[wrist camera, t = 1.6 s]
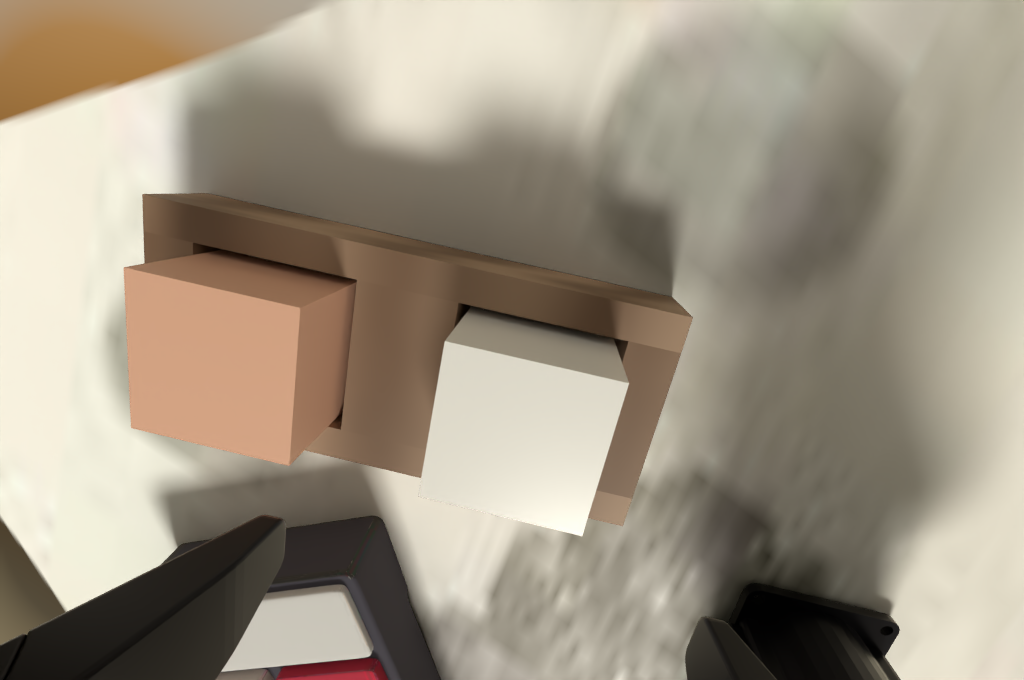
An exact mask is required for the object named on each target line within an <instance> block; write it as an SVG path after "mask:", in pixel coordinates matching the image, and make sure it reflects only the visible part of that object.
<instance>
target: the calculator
mask: <svg viewBox="0 0 1024 680" xmlns="http://www.w3.org/2000/svg"><path fill="white" fill-rule="evenodd" d="M211 540H212V539H211ZM208 541H210V540H204V541H198V542H191V543H185V544H181V545H180V546H179V547H178V548H177V549H176V550H175V551H174V552H173V553H172V554H171V555H170V556H169V557H168V558H167V559H166V560H165V561H164V562H163V563H162V564H164V563H166V562H168V561H170V560H172V559H174V558H176V557H178V556H180V555H182V554H184V553H186V552H188V551H190V550H192V549H194V548H196V547H198V546H200V545H202V544H204V543H206V542H208ZM162 564H161V565H162ZM216 680H440V677H439V675H438V672H437V670H436V667H435V665H434V662H433V660H432V657H431V655H430V653H429V650H428V648H427V645H426V643H425V640H424V638H423V635H422V633H421V630H420V628H419V625H418V623H417V621H416V618H415V616H414V613H413V611H412V608H411V606H410V603H409V600H408V592H407V585H406V582H405V579H404V576H403V574H402V571H401V568H400V565H399V563H398V560H397V557H396V554H395V552H394V549H393V546H392V543H391V541H390V538H389V535H388V532H387V530H386V527H385V524H384V522H383V521H382V519H380V518H379V517H376V516H368V517H360V518H354V519H347V520H340V521H333V522H326V523H320V524H313V525H306V526H299V527H293V528H286V535H285V551H284V558H283V562H282V564H281V567H280V569H279V571H278V573H277V574H276V576H275V578H274V580H273V582H272V584H271V585H270V587H269V589H268V591H267V593H266V595H265V596H264V598H263V600H262V602H261V604H260V606H259V607H258V609H257V611H256V613H255V615H254V617H253V618H252V620H251V622H250V624H249V626H248V628H247V630H246V631H245V633H244V635H243V637H242V639H241V640H240V642H239V644H238V646H237V647H236V649H235V651H234V653H233V654H232V656H231V657H230V659H229V660H228V662H227V664H226V665H225V667H224V668H223V670H222V671H221V673H220V674H219V676H218V677H217V679H216Z"/></svg>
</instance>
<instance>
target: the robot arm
mask: <svg viewBox="0 0 1024 680" xmlns="http://www.w3.org/2000/svg"><path fill="white" fill-rule="evenodd" d="M285 535H286V523H285V521H284V520H283V519H282V518H278V517H273V516H269V515H261V516H258V517H256V518H254V519H252V520H250V521H248V522H246V523H244V524H242V525H240V526H238V527H236V528H234V529H232V530H230V531H228V532H226V533H224V534H222V535H220V536H218V537H216V538H214V539H212V540H210V541H208V542H206V543H204V544H202V545H200V546H198V547H196V548H194V549H192V550H190V551H188V552H186V553H184V554H182V555H180V556H178V557H176V558H174V559H172V560H170V561H168V562H166V563H164V564H162V565H160V566H158V567H156V568H154V569H152V570H150V571H148V572H146V573H144V574H142V575H140V576H138V577H136V578H134V579H132V580H130V581H128V582H126V583H124V584H122V585H120V586H118V587H116V588H114V589H112V590H110V591H108V592H106V593H104V594H102V595H100V596H98V597H96V598H94V599H92V600H90V601H88V602H86V603H84V604H82V605H80V606H78V607H76V608H74V609H72V610H70V611H68V612H66V613H64V614H62V615H60V616H58V617H56V618H54V619H52V620H49V621H48V622H46V623H43V624H41V625H39V626H38V627H35V628H33V629H32V630H30V631H29V632H28V634H27V635H26V634H21V635H19V636H17V637H15V638H13V639H11V640H9V641H7V642H5V643H3V644H1V645H0V680H216V679H217V677H218V676H219V674H220V673H221V671H222V670H223V668H224V667H225V665H226V664H227V662H228V660H229V659H230V657H231V656H232V654H233V653H234V651H235V649H236V647H237V646H238V644H239V642H240V640H241V639H242V637H243V635H244V633H245V631H246V630H247V628H248V626H249V624H250V622H251V620H252V618H253V617H254V615H255V613H256V611H257V609H258V607H259V606H260V604H261V602H262V600H263V598H264V596H265V595H266V593H267V591H268V589H269V587H270V585H271V584H272V582H273V580H274V578H275V576H276V574H277V573H278V571H279V569H280V567H281V564H282V562H283V558H284V551H285ZM756 595H759V596H758V597H754V596H756ZM899 631H900V629H899V626H898V625H897V624H896V622H895V621H894V620H893V618H892V617H891V616H889V615H887V614H883V613H879V612H875V611H871V610H867V609H863V608H858V607H854V606H850V605H846V604H842V603H838V602H833V601H829V600H825V599H821V598H817V597H813V596H808V595H804V594H800V593H796V592H792V591H788V590H784V589H779V588H775V587H771V586H767V585H763V584H758V583H753V584H749V585H748V586H746V587H745V589H744V590H743V592H742V594H741V597H740V599H739V601H738V603H737V605H736V608H735V610H734V612H733V614H732V616H731V619H730V621H729V623H728V624H727V623H726V622H725V621H723V620H719V619H715V618H710V617H706V616H705V617H701V618H700V619H699V621H698V623H697V625H696V628H695V630H694V632H693V635H692V637H691V640H690V642H689V644H688V647H687V650H686V656H685V663H686V672H687V680H900V678H899V677H898V675H897V674H896V672H895V671H894V669H893V668H892V666H891V665H890V664H889V662H888V661H887V659H886V658H885V655H886V654H887V652H888V650H889V649H890V647H891V645H892V644H893V642H894V640H895V639H896V637H897V635H898V634H899Z"/></svg>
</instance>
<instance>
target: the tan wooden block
mask: <svg viewBox="0 0 1024 680" xmlns="http://www.w3.org/2000/svg"><path fill="white" fill-rule="evenodd" d="M124 283H125V305H126V326H127V348H128V369H129V391H130V413H131V428H134V429H138V430H142V431H146V432H151V433H155V434H159V435H163V436H167V437H171V438H176V439H180V440H184V441H188V442H192V443H196V444H200V445H205V446H209V447H213V448H217V449H221V450H225V451H230V452H234V453H238V454H242V455H246V456H250V457H255V458H259V459H263V460H267V461H271V462H275V463H280V464H284V465H288V466H289V465H290V464H291V463H292V462H293V461H294V460H295V459H296V458H297V457H298V456H299V455H300V454H301V453H302V452H303V451H304V450H305V449H306V448H307V447H308V446H309V445H310V444H311V443H312V442H313V441H314V440H315V439H316V438H317V437H318V436H319V435H320V434H321V433H322V432H323V431H324V430H325V429H326V428H327V427H328V426H329V425H330V424H331V423H332V422H333V421H334V420H335V419H336V418H337V417H338V416H339V415H340V414H341V413H342V412H343V406H344V397H345V387H346V378H347V369H348V359H349V350H350V341H351V331H352V322H353V312H354V303H355V294H356V284H357V280H352V279H348V278H344V277H339V276H335V275H330V274H326V273H322V272H317V271H313V270H308V269H304V268H300V267H295V266H291V265H286V264H282V263H277V262H273V261H269V260H264V259H260V258H255V257H251V256H247V255H242V254H238V253H233V252H229V251H225V250H218V251H212V252H207V253H201V254H196V255H190V256H184V257H179V258H173V259H168V260H162V261H157V262H151V263H146V264H140V265H134V266H129V267H124Z"/></svg>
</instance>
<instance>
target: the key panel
mask: <svg viewBox="0 0 1024 680" xmlns="http://www.w3.org/2000/svg"><path fill="white" fill-rule="evenodd" d="M142 196H143V227H144V258H145V264H146V263H151V262H157V261H162V260H168V259H173V258H179V257H184V256H190V255H196V254H201V253H207V252H212V251H218V250H225V251H229V252H233V253H238V254H242V255H247V256H248V255H250V256H255V257H259V258H263V259H268V260H272V261H277V262H281V263H285V264H290V265H294V266H299V267H303V268H308V269H312V270H316V271H321V272H325V273H330V274H334V275H338V276H343V277H347V278H352V279H356V280H357V284H356V294H355V303H354V312H353V322H352V331H351V341H350V350H349V359H348V369H347V378H346V387H345V397H344V406H343V412H342V413H341V414H340V415H339V416H338V417H337V418H336V419H335V420H334V421H333V422H332V423H331V424H330V425H329V426H328V427H327V428H326V429H325V430H324V431H323V432H322V433H321V434H320V435H319V436H318V437H317V438H316V439H315V440H314V441H313V442H312V443H311V444H310V445H309V446H308V447H307V448H306V449H305V450H306V451H310V452H314V453H319V454H323V455H327V456H331V457H335V458H339V459H344V460H348V461H352V462H356V463H360V464H365V465H369V466H373V467H377V468H381V469H386V470H390V471H394V472H398V473H402V474H406V475H411V476H415V477H419V478H421V476H422V470H423V465H424V459H425V453H426V447H427V441H428V436H429V430H430V424H431V418H432V412H433V406H434V401H435V395H436V389H437V383H438V377H439V371H440V366H441V360H442V354H443V348H444V342H445V340H446V339H447V337H448V336H449V335H450V334H451V332H452V331H453V330H454V328H455V327H456V326H457V324H458V323H459V322H460V321H461V319H462V318H463V317H464V315H465V314H466V313H467V311H468V310H469V309H470V306H475V307H480V308H484V309H488V310H493V311H497V312H502V313H506V314H510V315H515V316H519V317H524V318H528V319H532V320H537V321H541V322H546V323H550V324H555V325H559V326H563V327H568V328H572V329H577V330H581V331H585V332H590V333H594V334H599V335H603V336H607V337H612V338H613V339H614V341H615V344H616V347H617V350H618V353H619V355H620V358H621V361H622V364H623V367H624V370H625V373H626V376H627V379H628V382H629V385H628V389H627V392H626V395H625V398H624V402H623V405H622V408H621V411H620V415H619V418H618V421H617V424H616V428H615V431H614V434H613V437H612V441H611V444H610V447H609V450H608V454H607V457H606V460H605V463H604V467H603V470H602V473H601V476H600V480H599V483H598V486H597V489H596V493H595V496H594V499H593V502H592V506H591V509H590V512H589V515H588V518H591V519H595V520H599V521H603V522H607V523H612V524H616V525H620V526H623V524H624V521H625V518H626V515H627V512H628V509H629V506H630V503H631V500H632V497H633V494H634V491H635V488H636V485H637V482H638V479H639V476H640V473H641V471H642V468H643V465H644V462H645V459H646V456H647V453H648V450H649V447H650V444H651V441H652V438H653V435H654V432H655V429H656V426H657V423H658V420H659V417H660V414H661V411H662V408H663V405H664V402H665V399H666V396H667V393H668V390H669V387H670V384H671V381H672V378H673V375H674V373H675V370H676V367H677V364H678V361H679V358H680V355H681V352H682V349H683V346H684V343H685V340H686V337H687V334H688V331H689V328H690V325H691V322H692V319H693V317H692V316H691V315H690V314H689V313H688V312H687V311H686V310H685V309H684V308H683V307H682V306H681V305H680V304H679V303H678V302H677V301H676V300H675V299H674V298H673V297H669V296H665V295H660V294H656V293H651V292H647V291H642V290H638V289H633V288H629V287H624V286H620V285H615V284H611V283H607V282H602V281H598V280H593V279H589V278H584V277H580V276H575V275H571V274H566V273H562V272H557V271H553V270H548V269H544V268H539V267H535V266H530V265H526V264H521V263H517V262H512V261H508V260H503V259H499V258H495V257H490V256H486V255H481V254H477V253H472V252H468V251H463V250H459V249H454V248H450V247H445V246H441V245H436V244H432V243H427V242H423V241H418V240H414V239H409V238H405V237H400V236H396V235H391V234H387V233H383V232H378V231H374V230H369V229H365V228H360V227H356V226H351V225H347V224H342V223H338V222H333V221H329V220H324V219H320V218H315V217H311V216H306V215H302V214H297V213H293V212H288V211H284V210H279V209H275V208H271V207H266V206H262V205H257V204H253V203H248V202H244V201H239V200H235V199H230V198H226V197H221V196H217V195H212V194H208V193H194V194H142Z"/></svg>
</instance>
